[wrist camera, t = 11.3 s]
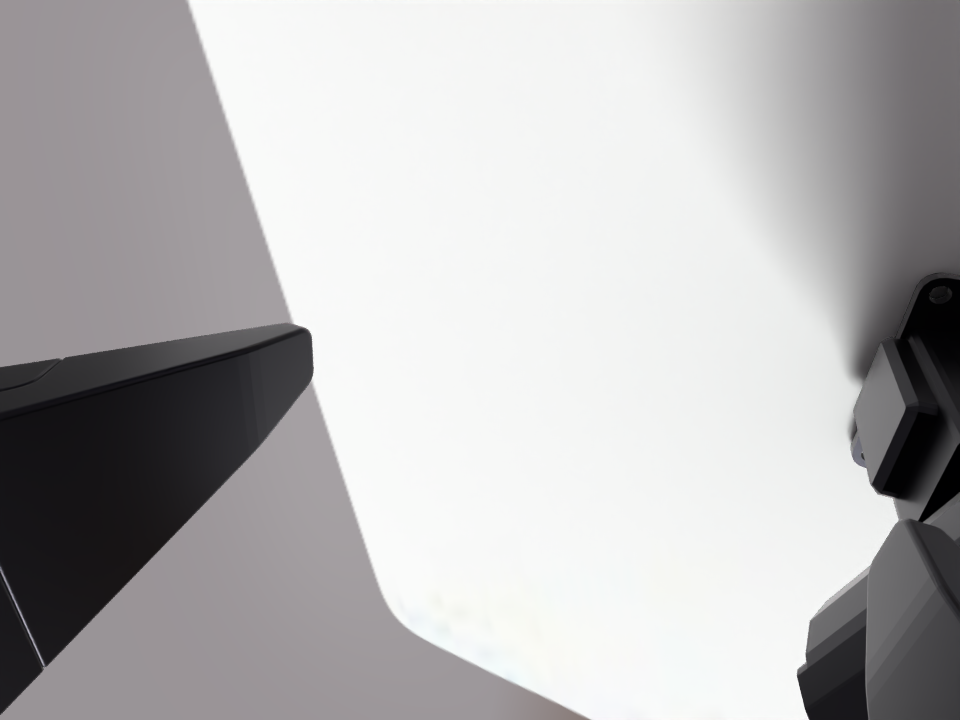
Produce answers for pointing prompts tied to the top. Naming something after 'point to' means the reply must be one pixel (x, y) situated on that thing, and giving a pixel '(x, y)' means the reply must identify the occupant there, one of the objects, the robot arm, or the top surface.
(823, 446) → the top surface
